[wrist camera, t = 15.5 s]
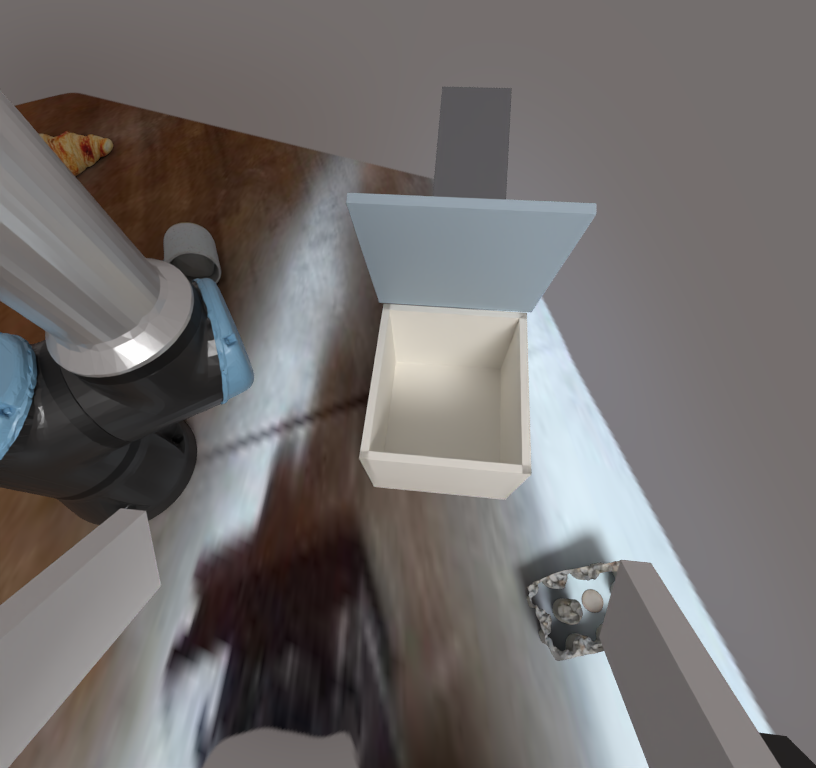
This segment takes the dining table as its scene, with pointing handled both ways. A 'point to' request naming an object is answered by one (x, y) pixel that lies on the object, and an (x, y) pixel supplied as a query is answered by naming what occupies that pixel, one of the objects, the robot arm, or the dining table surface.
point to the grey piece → (572, 610)
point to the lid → (467, 221)
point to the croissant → (78, 149)
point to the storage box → (449, 402)
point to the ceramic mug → (192, 251)
